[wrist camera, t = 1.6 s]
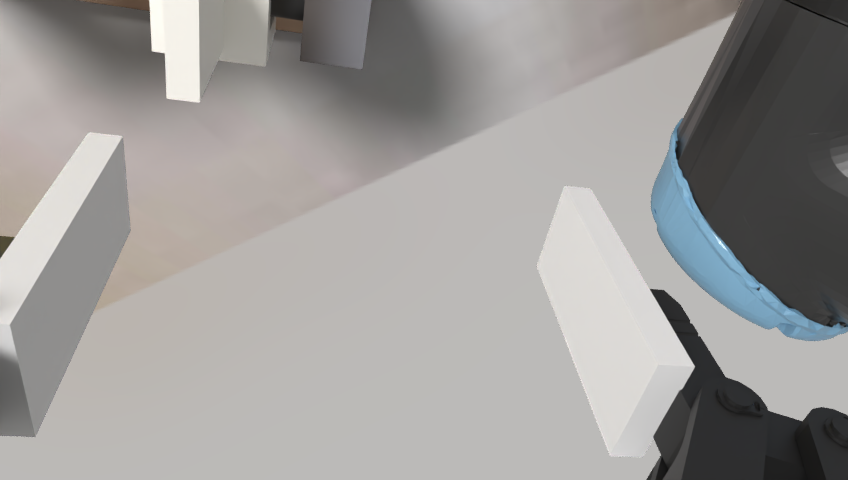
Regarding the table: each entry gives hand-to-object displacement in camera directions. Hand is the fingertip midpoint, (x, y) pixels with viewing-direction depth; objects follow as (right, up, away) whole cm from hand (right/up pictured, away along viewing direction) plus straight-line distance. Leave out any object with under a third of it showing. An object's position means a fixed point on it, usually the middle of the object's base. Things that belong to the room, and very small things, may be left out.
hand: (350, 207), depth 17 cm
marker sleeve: (-8, +12, +16) cm, 21 cm away
